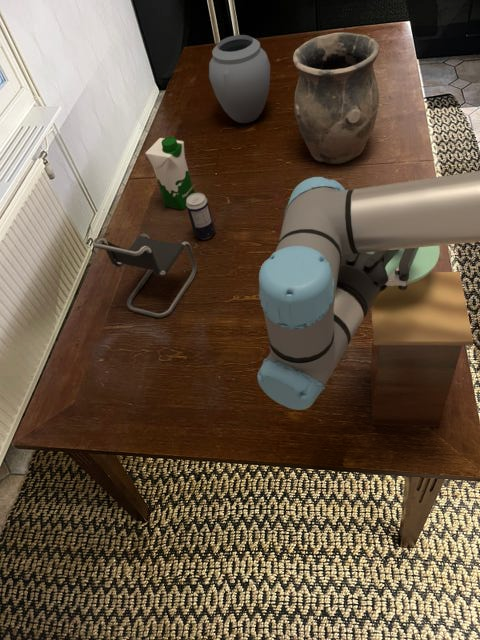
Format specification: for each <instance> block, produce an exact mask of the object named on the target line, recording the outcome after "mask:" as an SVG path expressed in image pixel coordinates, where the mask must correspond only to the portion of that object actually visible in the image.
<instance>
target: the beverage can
mask: <svg viewBox="0 0 480 640" xmlns="http://www.w3.org/2000/svg"><path fill="white" fill-rule="evenodd" d="M186 207H187V208H186V211H187V214H188V217H189V220H190V224H191V228H192V230H193V233H194V236H195V238H197V239H199V240H208V239H210V238H211V237H213V236H214V234H215V232H216V228H215V224H214V220H213V216H212V212H211V208H210V204H209V200H208V198H207V197H206V196H205V194H204V193H203V192H195V193H193V194H191V195H189V196H188V197H187V200H186Z"/></svg>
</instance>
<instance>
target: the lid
mask: <svg viewBox="0 0 480 640" xmlns="http://www.w3.org/2000/svg"><path fill="white" fill-rule="evenodd" d="M440 249H441V247H440V246H429V247H419V248H418V251H417V253H416V256H415V258H414V261H413V263H412V265H411V268H410V270H409V280H408V284H409V283H413V282H415V281H418V280H420V279H422V278H424V277H425V276H427V275H428V274H429V273H430V272H433V270H434V269H435V268H436V266H437V264H438V262H439V258H440V254H441V250H440ZM404 250H405V249H400V250H399V251H398V252H397V253H396V254H395V256H394V257H393V258H392V259H391V260H390V261H389V263H388V264H387V265H386V268H385V269H386V272H387V275H388V276H389V275H391V274H392V272H393V271H394V270H395V268H399V262H400V260H401V257H402V255H403V253H404ZM366 253H367V254H374V252H366Z"/></svg>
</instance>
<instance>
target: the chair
mask: <svg viewBox="0 0 480 640" xmlns="http://www.w3.org/2000/svg"><path fill="white" fill-rule="evenodd" d="M92 247H94V248H96V249H100V250H103V251H106V254H107V256H108V259H109V260H110V262H111V265H113V266H114V267H116V268H120V267H122V266H123V265H127V266H131V267H136V268H139V269H145V270H147V271H146V273H145V274H144V276H143V277H142V279H141V280H140V282H138V284H137V286H136V287H135V288H134V290H133V291H132V292H131V293H130V295H129V297H128V298H127V300H126V307H127V309H128V310H129V311H130V312H134V313H138V314H142V315H145V316H149V317H152V318H157V319H160V318H166V317H167V316H169V315H171V314H172V312H173V311H174V309H175V308H176V306H177V305H178V303H179V302H180V300H181V299H182V297H183V296H184V294H185V292H186V291H187V289H188V288H189V286H190V285H191V283H192V281H193V279H194V278H195V277H196V274H197V263H196V260H195V257H194V256H195V255H194V253H193V249H192V246H191V244H190V242H188V241H186V240H185V241H182V242H181V243H175V242H167V241H160V240H157V239H153V238H150V236H149V235H148V233H141V234H139V235H138V237H136V239H135V241H134V242H133V243H132V244H131V245H130V246H129V248H124V247H122V246H119V245H116V244H114V243H112V242H110V241H108V240H107V239H106V238H105V237H103V236H97V237H96V238H94V239H93V240H92ZM185 248H186V251H187V254H188V257H189V260H190V264H191V273H190V275H189V276H188V278H187V280H186V281H185V282H184V284H183V286H182V288H181V289H180V290H179V292H178V293H177V294H176V297H175V298H174V299H173V301H172V303H171V305H170V306H169V308H168V309H167V310H166V311H164V312H161V313H159V312H154V311H150V310H146V309H142V308H139V307H135V306H133V305H132V302H133V300H134V299H135V297H136V296H137V295H138V293H139V291H140V290H141V289H142V287H143V286H144V284H145V283H146V281H147V280H148V279H149V277H150V276H151V275H152V273H153V272H154V274H155V275H156V276H157V277H159V278H160V277H161V278H162V277H164V276H165V275H167V274H168V272H169V271H170V269H171V267H172V266H173V265H174V263H175V262H176V261H177V260H178V258H179V256H180V254H181V253H182V252H183V250H184V249H185Z"/></svg>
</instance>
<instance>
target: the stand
mask: <svg viewBox="0 0 480 640" xmlns="http://www.w3.org/2000/svg"><path fill="white" fill-rule="evenodd" d="M465 296H466V295H465V292H464V287H463V282H462V275H461V271H431V272H430V273H429V274H428V275H427V276H425V277H424V278H422V279H420V280H418V281H415V282H413V283H409V284H408V287H407V289H406V290H401V289H399V287H398V286H387V288H386V289H385V290H383V291H381V292H380V293H379V294H378V296H377V298H376V299H375V301H374V303H373V304H372V306H371V308H370V309H371V310H370V311H371V329H372V330H371V331H372V341H371V357H370V359H371V360H370V371H369V373H370V393H371V396H370V397H371V416H372V426H392V427H393V426H394V427H395V426H396V427H426V428H428V427H429V428H440V426H441V422H442V418H443V415H444V411H445V408H446V404H447V401H448V397H449V394H450V390H451V388H452V387H451V386H452V383H453V379H454V376H455V373H456V370H457V366H458V362H459V358H460V355H461V352H462V348H463V346H473V344H474V339H473V333H472V328H471V323H470V318H469V313H468V307H467V302H466V297H465Z"/></svg>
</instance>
